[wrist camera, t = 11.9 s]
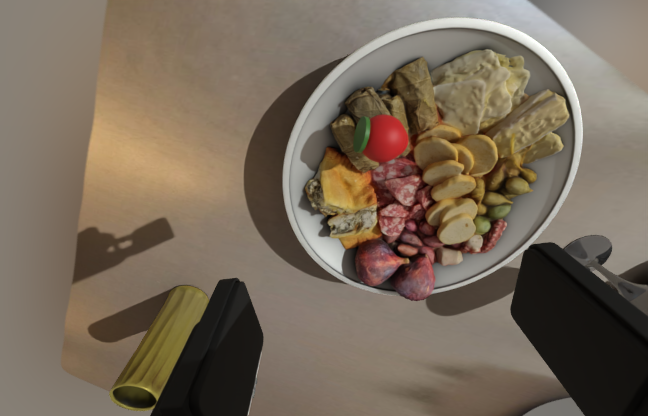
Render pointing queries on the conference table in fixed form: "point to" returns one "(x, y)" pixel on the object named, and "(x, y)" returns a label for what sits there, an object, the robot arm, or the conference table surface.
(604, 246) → the wine glass
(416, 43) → the bowl
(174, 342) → the vase
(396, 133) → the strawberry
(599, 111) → the conference table surface
